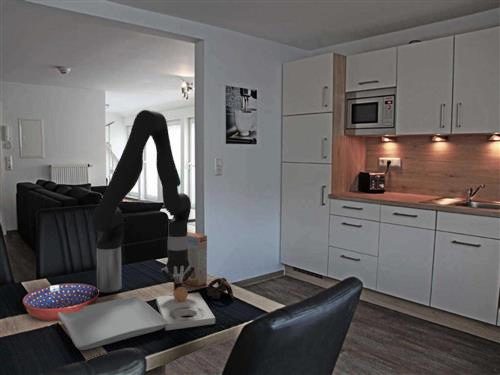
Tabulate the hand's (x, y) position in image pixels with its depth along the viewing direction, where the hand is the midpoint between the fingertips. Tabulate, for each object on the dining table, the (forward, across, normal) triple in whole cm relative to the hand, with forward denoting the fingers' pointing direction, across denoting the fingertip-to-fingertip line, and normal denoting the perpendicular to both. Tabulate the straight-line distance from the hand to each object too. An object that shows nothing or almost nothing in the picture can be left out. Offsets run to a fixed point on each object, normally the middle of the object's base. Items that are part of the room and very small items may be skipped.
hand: (177, 292), depth 151 cm
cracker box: (+3, -9, -18) cm, 20 cm away
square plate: (+3, +24, +17) cm, 29 cm away
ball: (-2, 0, +7) cm, 7 cm away
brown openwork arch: (+3, -16, +2) cm, 17 cm away
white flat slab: (+3, 0, +13) cm, 13 cm away
